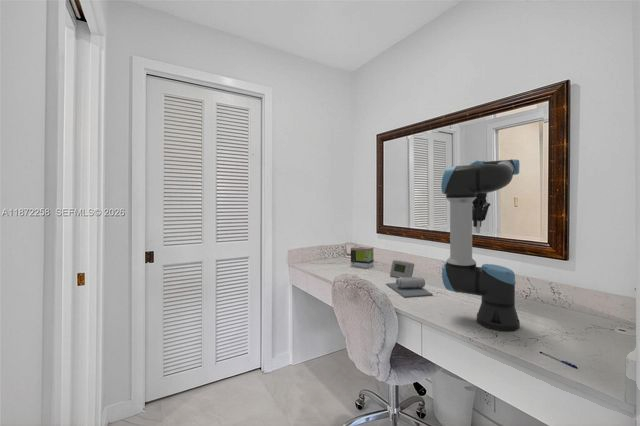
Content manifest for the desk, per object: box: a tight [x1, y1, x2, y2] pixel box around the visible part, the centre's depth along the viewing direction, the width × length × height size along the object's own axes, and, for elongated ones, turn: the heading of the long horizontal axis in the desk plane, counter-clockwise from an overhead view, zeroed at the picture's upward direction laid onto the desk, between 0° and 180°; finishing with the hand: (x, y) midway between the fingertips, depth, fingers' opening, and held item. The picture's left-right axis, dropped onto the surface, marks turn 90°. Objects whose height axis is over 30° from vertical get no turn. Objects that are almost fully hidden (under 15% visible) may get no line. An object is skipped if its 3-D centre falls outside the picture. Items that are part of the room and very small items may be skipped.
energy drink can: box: [395, 276, 426, 289], centre depth 170 cm, size 6×6×15 cm
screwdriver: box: [539, 351, 578, 370], centre depth 94 cm, size 10×1×1 cm, turn 24°
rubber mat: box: [385, 282, 434, 299], centre depth 169 cm, size 24×16×1 cm, turn 10°
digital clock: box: [389, 259, 415, 279], centre depth 195 cm, size 16×9×11 cm, turn 29°
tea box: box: [350, 245, 375, 269], centre depth 229 cm, size 15×10×15 cm, turn 58°
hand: (476, 232), depth 164 cm, fingers closed
